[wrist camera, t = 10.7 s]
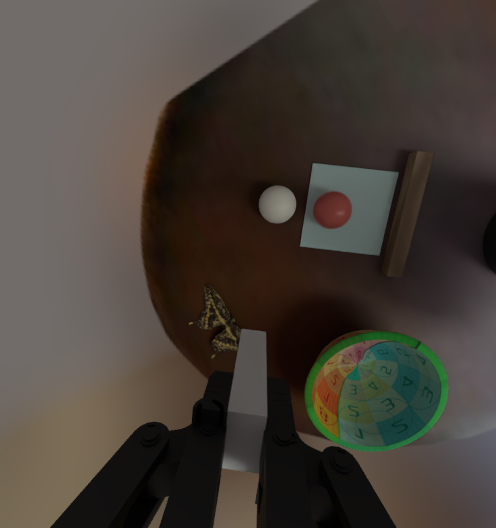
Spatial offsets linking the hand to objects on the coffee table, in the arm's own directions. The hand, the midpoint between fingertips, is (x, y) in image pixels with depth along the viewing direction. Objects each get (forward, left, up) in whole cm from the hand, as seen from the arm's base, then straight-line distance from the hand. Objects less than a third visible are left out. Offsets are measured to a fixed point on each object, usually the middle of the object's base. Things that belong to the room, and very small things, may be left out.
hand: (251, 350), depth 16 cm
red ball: (-11, -9, -29) cm, 33 cm away
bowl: (-21, +19, -33) cm, 43 cm away
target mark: (-14, -9, -32) cm, 36 cm away
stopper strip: (-23, -9, -32) cm, 41 cm away
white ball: (-2, -9, -29) cm, 31 cm away
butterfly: (+5, +14, -33) cm, 36 cm away
